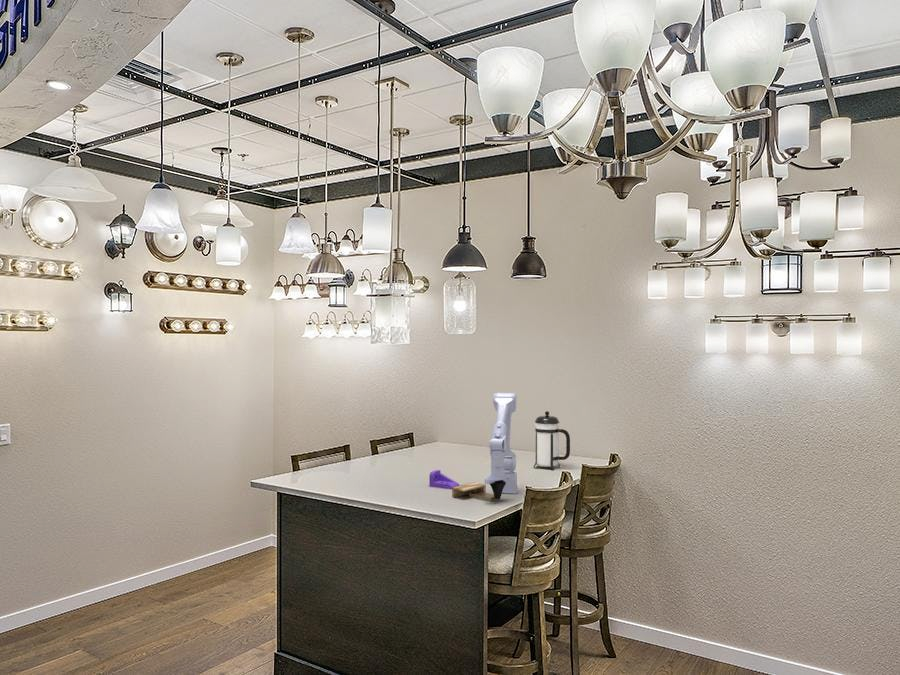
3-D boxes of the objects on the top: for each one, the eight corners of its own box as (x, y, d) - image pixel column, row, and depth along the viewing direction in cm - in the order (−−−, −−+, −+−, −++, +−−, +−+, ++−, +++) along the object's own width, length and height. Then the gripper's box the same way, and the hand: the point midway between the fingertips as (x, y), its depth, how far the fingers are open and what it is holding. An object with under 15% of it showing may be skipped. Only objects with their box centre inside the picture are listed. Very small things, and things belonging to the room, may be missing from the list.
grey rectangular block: (499, 500, 280) (499, 495, 280) (490, 502, 276) (490, 497, 276) (477, 495, 288) (477, 490, 288) (468, 497, 284) (468, 493, 284)
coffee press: (538, 471, 340) (539, 413, 340) (529, 465, 356) (529, 410, 356) (570, 470, 344) (570, 412, 344) (559, 464, 359) (559, 409, 360)
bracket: (429, 487, 304) (429, 472, 304) (436, 484, 310) (436, 469, 310) (452, 490, 298) (452, 475, 298) (459, 487, 304) (459, 472, 304)
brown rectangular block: (485, 494, 289) (485, 484, 289) (464, 499, 279) (464, 489, 279) (473, 491, 294) (473, 482, 294) (452, 497, 284) (452, 487, 284)
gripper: (501, 462, 285) (501, 494, 285) (479, 467, 275) (479, 499, 275) (514, 465, 281) (514, 496, 281) (492, 469, 270) (491, 502, 270)
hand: (497, 498), depth 277 cm, fingers closed
